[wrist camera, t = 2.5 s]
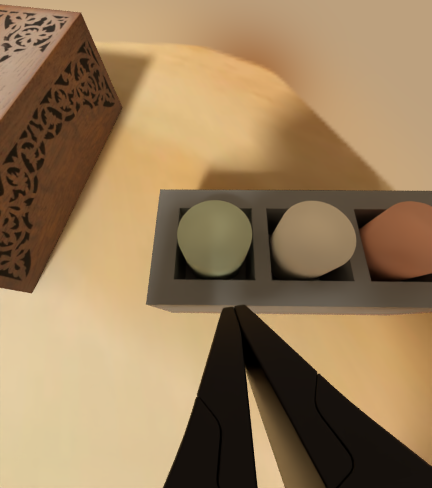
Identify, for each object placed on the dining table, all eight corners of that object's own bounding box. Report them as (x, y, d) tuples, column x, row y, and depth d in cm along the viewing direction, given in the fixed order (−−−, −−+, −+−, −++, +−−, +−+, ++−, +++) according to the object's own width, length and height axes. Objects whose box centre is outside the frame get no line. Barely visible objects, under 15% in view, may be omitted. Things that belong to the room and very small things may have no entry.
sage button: (244, 284, 16) (253, 269, 12) (185, 283, 16) (174, 268, 12) (242, 230, 18) (250, 200, 13) (189, 229, 18) (179, 199, 14)
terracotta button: (407, 285, 16) (475, 271, 12) (347, 285, 16) (393, 270, 12) (391, 231, 18) (445, 201, 13) (336, 230, 18) (374, 200, 13)
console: (388, 315, 20) (491, 308, 12) (172, 312, 20) (146, 304, 13) (368, 235, 23) (441, 191, 15) (179, 233, 23) (160, 189, 16)
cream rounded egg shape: (325, 285, 16) (364, 270, 12) (266, 284, 16) (283, 269, 12) (316, 230, 18) (347, 200, 13) (262, 230, 18) (276, 200, 13)
